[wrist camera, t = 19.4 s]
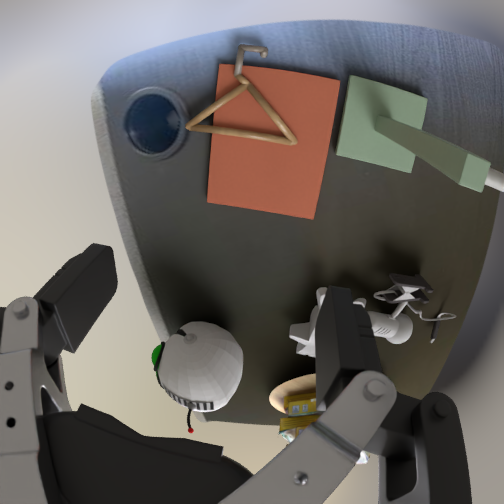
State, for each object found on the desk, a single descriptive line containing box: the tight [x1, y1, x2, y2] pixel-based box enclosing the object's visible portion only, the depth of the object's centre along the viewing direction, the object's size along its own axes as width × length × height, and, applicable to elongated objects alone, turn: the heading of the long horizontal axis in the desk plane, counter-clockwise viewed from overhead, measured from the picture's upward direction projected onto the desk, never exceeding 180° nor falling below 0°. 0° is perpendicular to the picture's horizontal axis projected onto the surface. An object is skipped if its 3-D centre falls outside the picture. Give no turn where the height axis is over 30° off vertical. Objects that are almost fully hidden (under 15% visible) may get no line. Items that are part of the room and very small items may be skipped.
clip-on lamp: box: [367, 273, 456, 344], centre depth 42 cm, size 12×6×18 cm
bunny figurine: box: [289, 287, 366, 357], centre depth 46 cm, size 10×5×15 cm
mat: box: [207, 64, 340, 219], centre depth 35 cm, size 18×14×1 cm
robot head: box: [152, 321, 243, 433], centre depth 44 cm, size 16×14×20 cm
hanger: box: [185, 44, 298, 146], centre depth 31 cm, size 14×1×11 cm
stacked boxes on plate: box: [269, 373, 370, 464], centre depth 51 cm, size 25×25×17 cm
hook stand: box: [335, 75, 504, 192], centre depth 22 cm, size 10×19×22 cm, turn 83°
